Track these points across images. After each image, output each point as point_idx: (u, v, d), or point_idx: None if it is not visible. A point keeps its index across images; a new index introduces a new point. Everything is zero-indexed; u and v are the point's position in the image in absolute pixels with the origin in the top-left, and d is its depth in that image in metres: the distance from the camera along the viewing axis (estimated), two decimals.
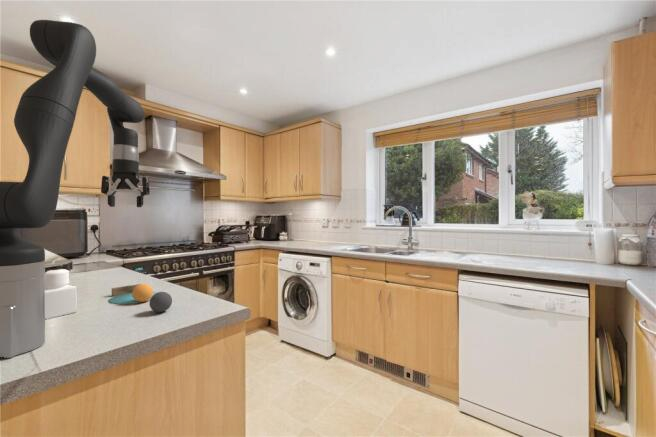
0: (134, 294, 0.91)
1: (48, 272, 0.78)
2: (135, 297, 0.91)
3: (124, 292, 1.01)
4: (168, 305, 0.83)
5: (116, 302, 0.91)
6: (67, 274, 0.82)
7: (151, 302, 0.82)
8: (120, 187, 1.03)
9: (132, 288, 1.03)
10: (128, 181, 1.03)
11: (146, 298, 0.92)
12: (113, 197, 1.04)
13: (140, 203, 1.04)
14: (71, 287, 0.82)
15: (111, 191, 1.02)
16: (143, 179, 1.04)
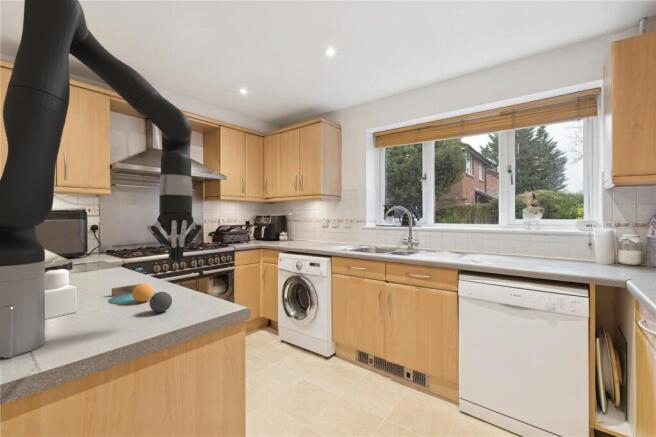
0: (134, 294, 0.91)
1: (48, 272, 0.78)
2: (135, 297, 0.91)
3: (124, 292, 1.01)
4: (168, 305, 0.83)
5: (116, 302, 0.91)
6: (67, 274, 0.82)
7: (151, 302, 0.82)
8: None
9: (132, 288, 1.03)
10: None
11: (146, 298, 0.92)
12: None
13: None
14: (71, 287, 0.82)
15: None
16: None
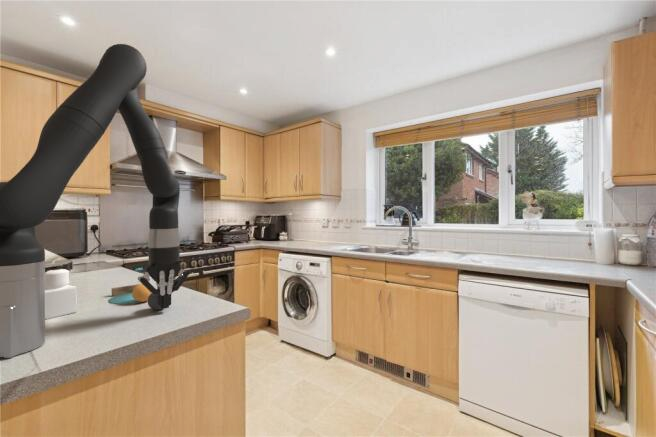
0: (134, 294, 0.91)
1: (48, 272, 0.78)
2: (135, 297, 0.91)
3: (124, 292, 1.01)
4: None
5: (116, 302, 0.91)
6: (67, 274, 0.82)
7: (149, 298, 0.84)
8: None
9: (132, 288, 1.03)
10: None
11: (146, 298, 0.92)
12: None
13: None
14: (71, 287, 0.82)
15: None
16: None
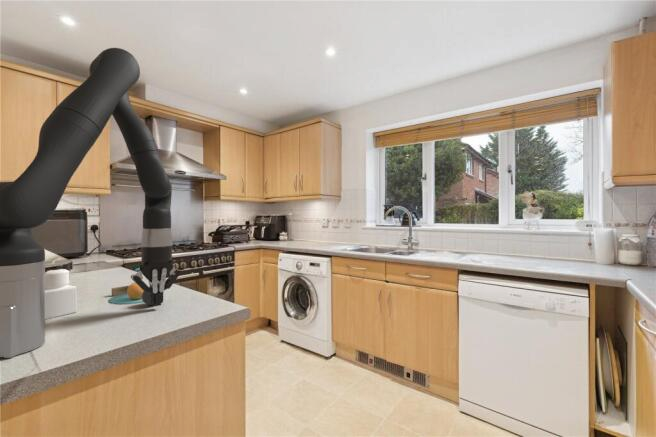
0: (128, 289, 0.94)
1: (48, 272, 0.78)
2: (129, 289, 0.93)
3: (124, 292, 1.01)
4: None
5: (116, 302, 0.91)
6: (67, 274, 0.82)
7: (142, 296, 0.89)
8: None
9: None
10: None
11: None
12: None
13: None
14: (71, 287, 0.82)
15: None
16: None
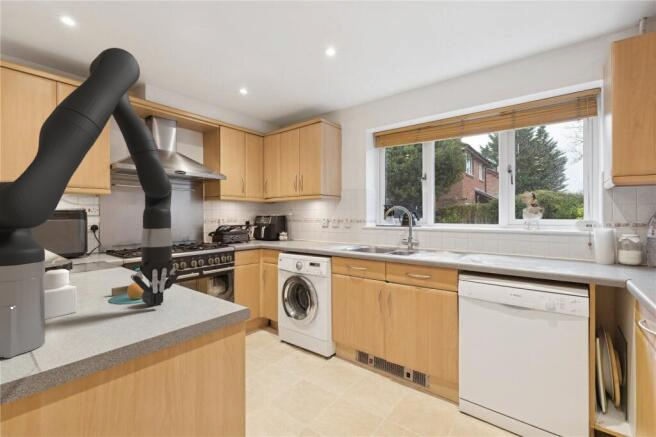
0: (128, 289, 0.94)
1: (48, 272, 0.78)
2: (129, 289, 0.93)
3: (124, 292, 1.01)
4: None
5: (116, 302, 0.91)
6: (67, 274, 0.82)
7: (142, 296, 0.89)
8: None
9: None
10: None
11: None
12: None
13: None
14: (71, 287, 0.82)
15: None
16: None
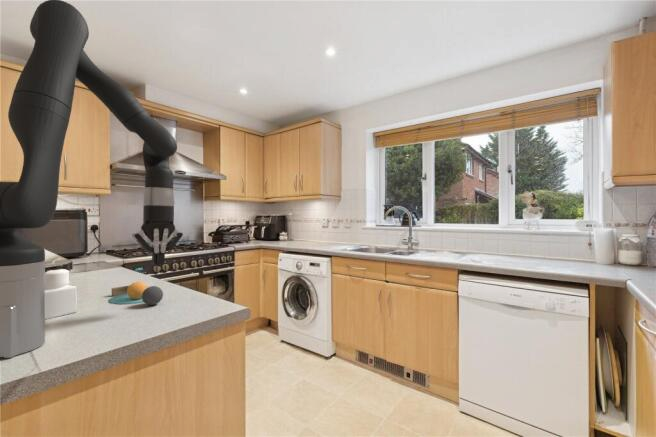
0: (128, 289, 0.94)
1: (48, 272, 0.78)
2: (129, 289, 0.93)
3: (124, 292, 1.01)
4: None
5: (116, 302, 0.91)
6: (67, 274, 0.82)
7: (142, 296, 0.89)
8: None
9: None
10: None
11: (139, 284, 0.95)
12: None
13: None
14: (71, 287, 0.82)
15: None
16: None
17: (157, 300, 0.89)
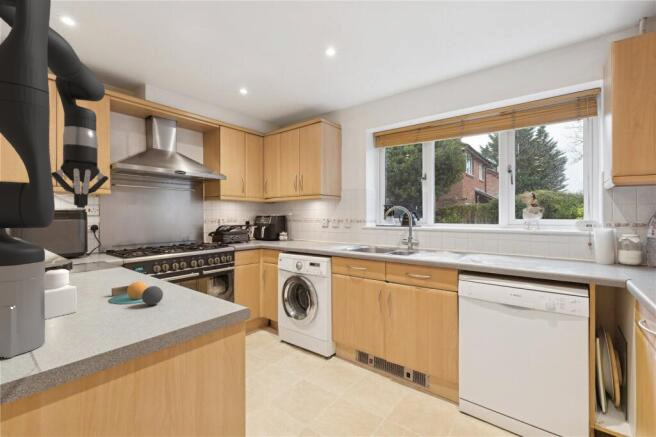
0: (128, 289, 0.94)
1: (48, 272, 0.78)
2: (129, 289, 0.93)
3: (124, 292, 1.01)
4: None
5: (116, 302, 0.91)
6: (67, 274, 0.82)
7: (142, 296, 0.89)
8: None
9: None
10: None
11: (139, 284, 0.95)
12: None
13: None
14: (71, 287, 0.82)
15: None
16: None
17: (157, 300, 0.89)
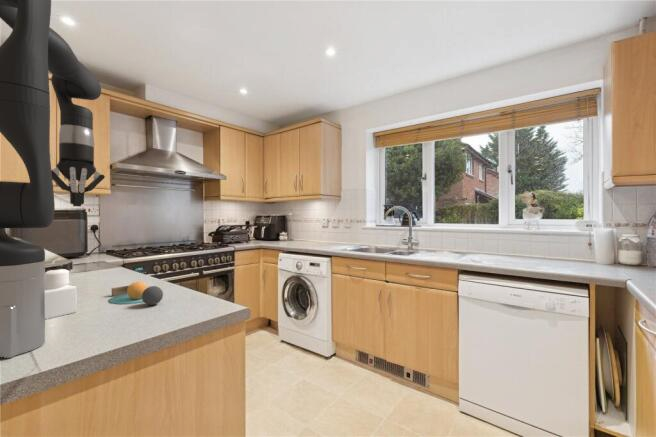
0: (128, 289, 0.94)
1: (48, 272, 0.78)
2: (129, 289, 0.93)
3: (124, 292, 1.01)
4: None
5: (116, 302, 0.91)
6: (67, 274, 0.82)
7: (142, 296, 0.89)
8: None
9: None
10: None
11: (139, 284, 0.95)
12: None
13: None
14: (71, 287, 0.82)
15: None
16: None
17: (157, 300, 0.89)
